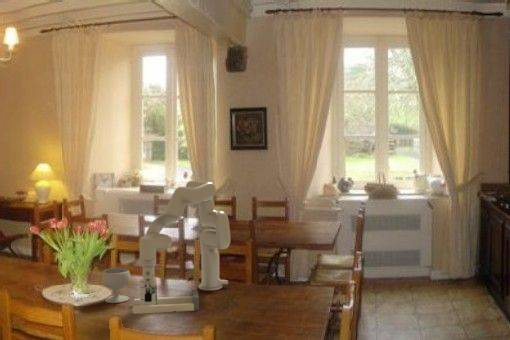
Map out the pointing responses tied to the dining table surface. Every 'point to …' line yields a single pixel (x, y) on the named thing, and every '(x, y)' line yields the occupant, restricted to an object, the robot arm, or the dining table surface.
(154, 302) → the syrup box
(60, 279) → the dining table surface
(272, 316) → the dining table surface
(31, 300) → the dining table surface
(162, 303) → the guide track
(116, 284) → the chalice
